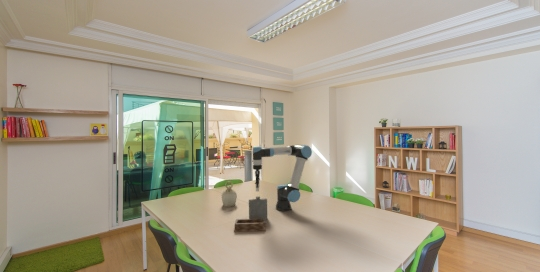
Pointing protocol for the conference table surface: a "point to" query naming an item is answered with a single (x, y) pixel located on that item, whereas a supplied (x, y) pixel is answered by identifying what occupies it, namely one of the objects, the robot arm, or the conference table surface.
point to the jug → (229, 196)
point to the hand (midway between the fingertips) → (257, 189)
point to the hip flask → (258, 208)
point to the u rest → (249, 225)
